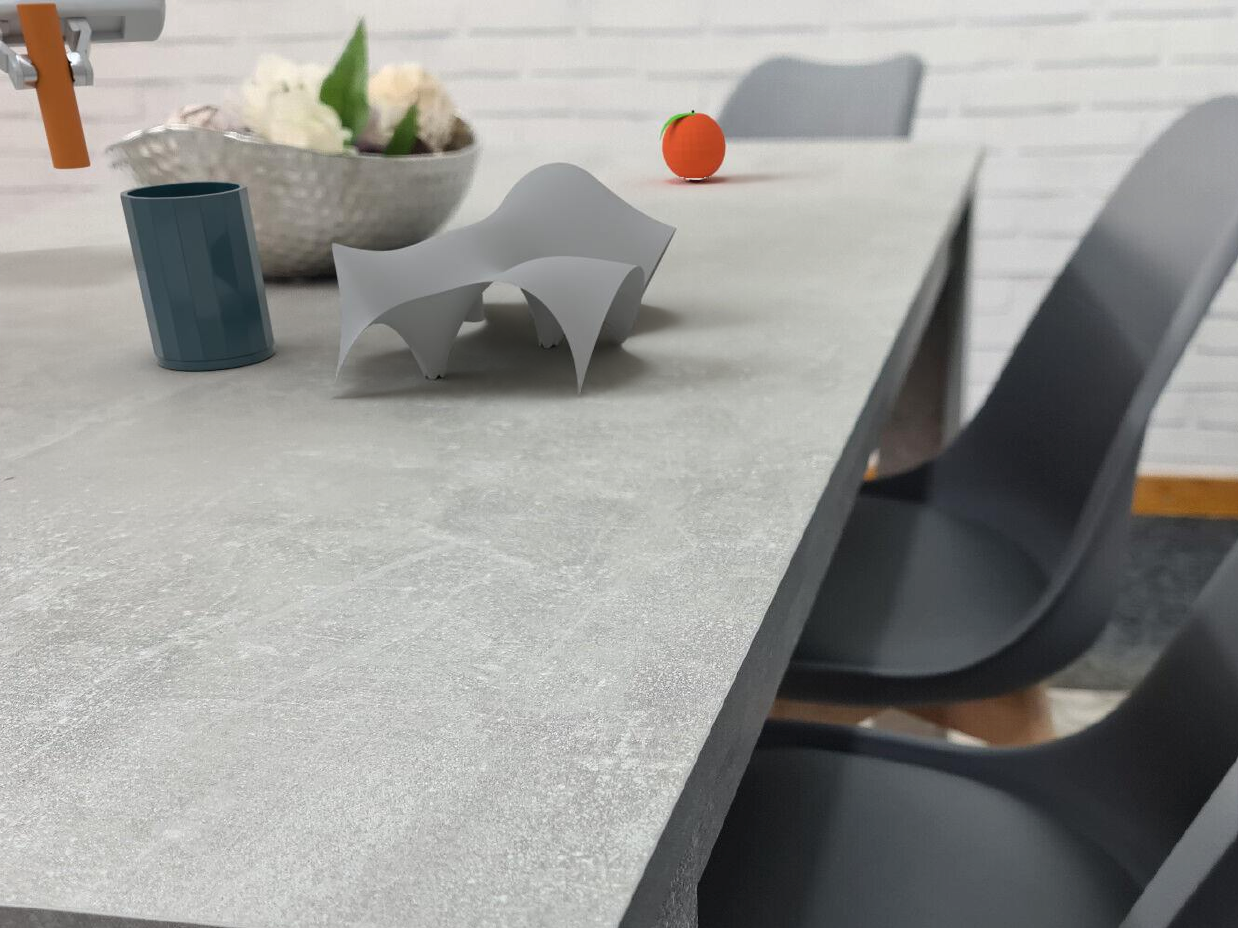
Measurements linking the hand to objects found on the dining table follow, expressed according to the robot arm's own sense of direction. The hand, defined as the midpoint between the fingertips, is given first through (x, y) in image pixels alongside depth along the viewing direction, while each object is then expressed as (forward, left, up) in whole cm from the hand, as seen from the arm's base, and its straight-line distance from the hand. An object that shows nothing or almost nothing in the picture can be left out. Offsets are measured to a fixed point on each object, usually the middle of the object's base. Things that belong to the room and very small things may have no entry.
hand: (56, 81), depth 106 cm
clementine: (+59, +33, -15) cm, 69 cm away
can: (+7, -28, -15) cm, 33 cm away
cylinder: (0, +1, -6) cm, 6 cm away
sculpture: (+26, -34, -15) cm, 45 cm away
